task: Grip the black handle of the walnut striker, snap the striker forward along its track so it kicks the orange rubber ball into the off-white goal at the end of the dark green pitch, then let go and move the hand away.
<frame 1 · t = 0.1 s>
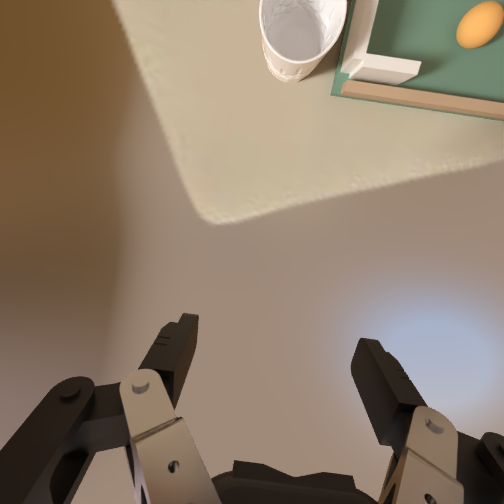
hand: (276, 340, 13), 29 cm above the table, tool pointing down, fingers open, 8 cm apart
ball: (479, 25, 29), point 3 cm above the table, touching pitch
pitch: (451, 36, 31), on the table
white cup: (291, 53, 33), on the table
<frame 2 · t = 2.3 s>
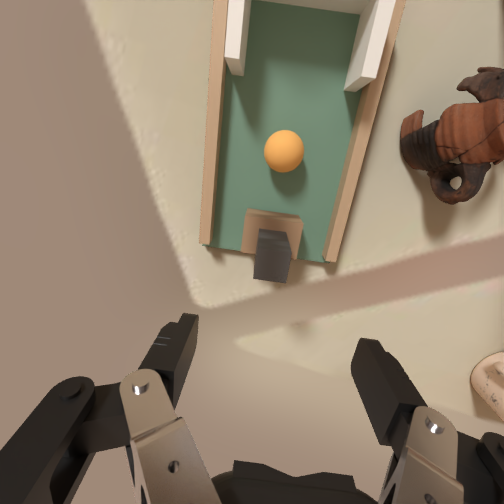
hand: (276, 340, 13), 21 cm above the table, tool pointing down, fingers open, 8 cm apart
ball: (283, 151, 26), point 3 cm above the table, touching pitch
pottery mug: (442, 141, 28), on the table
pitch: (283, 142, 28), on the table
striker: (271, 241, 26), point 6 cm above the table, slide at 0.0 cm
teacup with lid: (494, 366, 38), on the table
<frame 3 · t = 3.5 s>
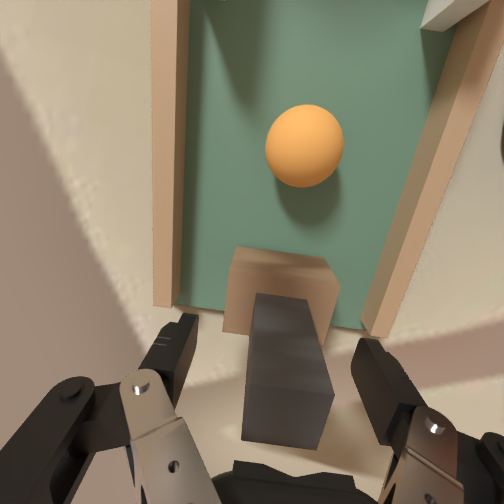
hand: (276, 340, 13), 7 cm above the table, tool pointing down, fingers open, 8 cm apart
ball: (303, 148, 14), point 3 cm above the table, touching pitch
pitch: (299, 132, 16), on the table
striker: (279, 320, 14), point 6 cm above the table, slide at 0.0 cm
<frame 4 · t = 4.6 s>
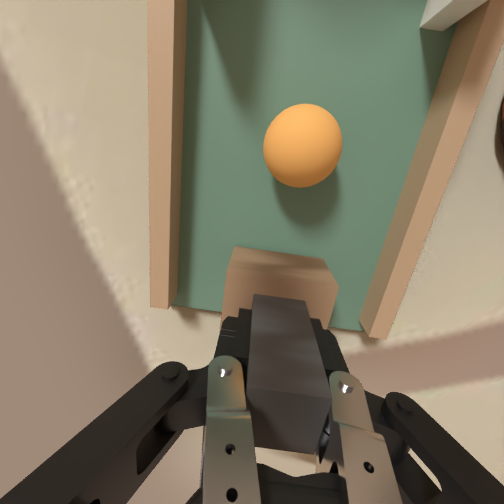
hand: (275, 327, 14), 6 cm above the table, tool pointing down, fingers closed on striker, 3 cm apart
ball: (301, 147, 13), point 3 cm above the table, touching pitch
pitch: (298, 131, 16), on the table
striker: (277, 322, 13), point 6 cm above the table, slide at 0.0 cm, touching gripper
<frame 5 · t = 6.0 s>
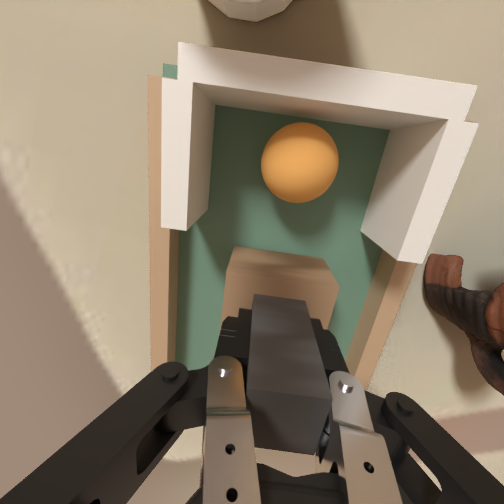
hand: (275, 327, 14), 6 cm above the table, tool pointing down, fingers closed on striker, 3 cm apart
ball: (298, 164, 14), point 3 cm above the table, tilted 94°, touching pitch
pottery mug: (485, 281, 19), on the table
pitch: (270, 285, 20), on the table
striker: (277, 322, 13), point 6 cm above the table, slide at 10.8 cm, touching gripper
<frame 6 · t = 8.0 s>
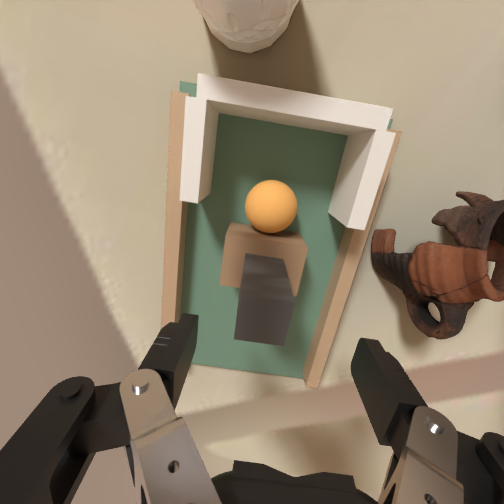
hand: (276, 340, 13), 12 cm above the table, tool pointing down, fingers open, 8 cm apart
ball: (270, 206, 20), point 3 cm above the table, tilted 165°, touching pitch
pottery mug: (419, 252, 24), on the table
pitch: (258, 257, 25), on the table
striker: (262, 272, 18), point 6 cm above the table, slide at 10.8 cm
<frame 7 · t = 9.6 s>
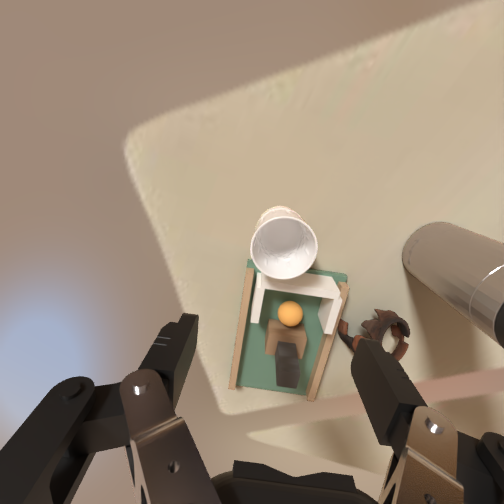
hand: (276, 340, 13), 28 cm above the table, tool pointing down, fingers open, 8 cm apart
ball: (290, 313, 41), point 3 cm above the table, tilted 176°, touching pitch
pottery mug: (364, 328, 46), on the table
pitch: (281, 332, 46), on the table
white cup: (279, 227, 40), on the table
striker: (286, 351, 40), point 6 cm above the table, slide at 10.8 cm
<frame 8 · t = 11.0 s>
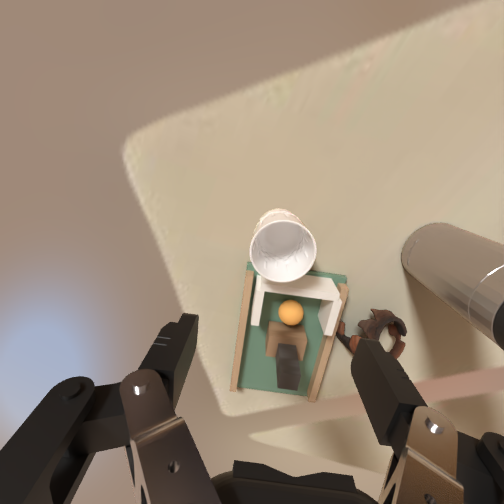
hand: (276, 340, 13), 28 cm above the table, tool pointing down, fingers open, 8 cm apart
ball: (290, 312, 41), point 3 cm above the table, tilted 161°, touching pitch
pottery mug: (361, 328, 46), on the table
pitch: (282, 333, 47), on the table
white cup: (278, 229, 40), on the table
striker: (286, 353, 40), point 6 cm above the table, slide at 10.8 cm
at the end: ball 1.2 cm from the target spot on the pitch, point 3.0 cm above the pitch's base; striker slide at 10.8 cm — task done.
